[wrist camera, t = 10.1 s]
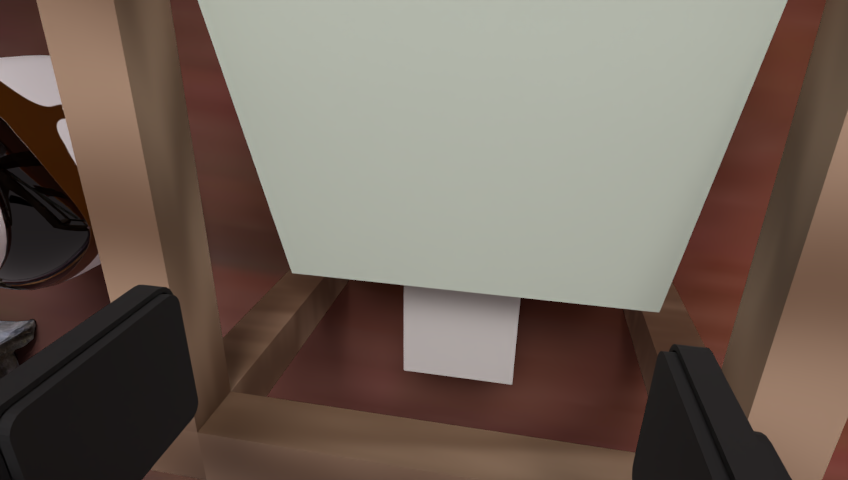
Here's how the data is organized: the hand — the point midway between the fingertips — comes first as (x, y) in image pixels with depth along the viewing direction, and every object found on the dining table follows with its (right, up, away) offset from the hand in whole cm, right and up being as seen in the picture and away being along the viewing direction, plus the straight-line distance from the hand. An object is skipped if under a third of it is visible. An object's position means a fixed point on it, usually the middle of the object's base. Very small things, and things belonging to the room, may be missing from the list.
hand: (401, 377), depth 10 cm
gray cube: (+2, -1, +13) cm, 13 cm away
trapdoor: (+2, +6, +6) cm, 8 cm away
